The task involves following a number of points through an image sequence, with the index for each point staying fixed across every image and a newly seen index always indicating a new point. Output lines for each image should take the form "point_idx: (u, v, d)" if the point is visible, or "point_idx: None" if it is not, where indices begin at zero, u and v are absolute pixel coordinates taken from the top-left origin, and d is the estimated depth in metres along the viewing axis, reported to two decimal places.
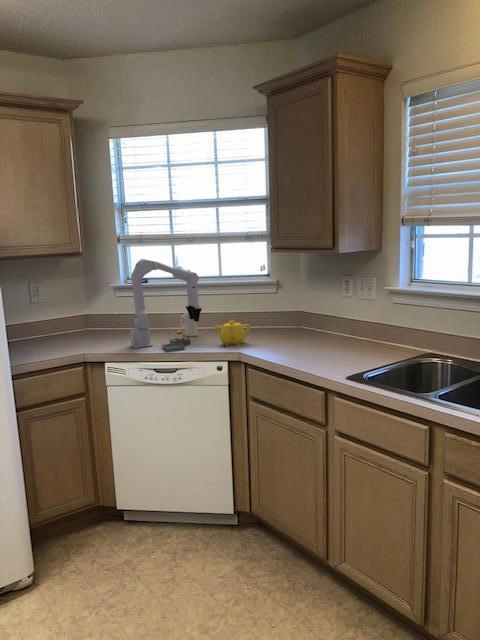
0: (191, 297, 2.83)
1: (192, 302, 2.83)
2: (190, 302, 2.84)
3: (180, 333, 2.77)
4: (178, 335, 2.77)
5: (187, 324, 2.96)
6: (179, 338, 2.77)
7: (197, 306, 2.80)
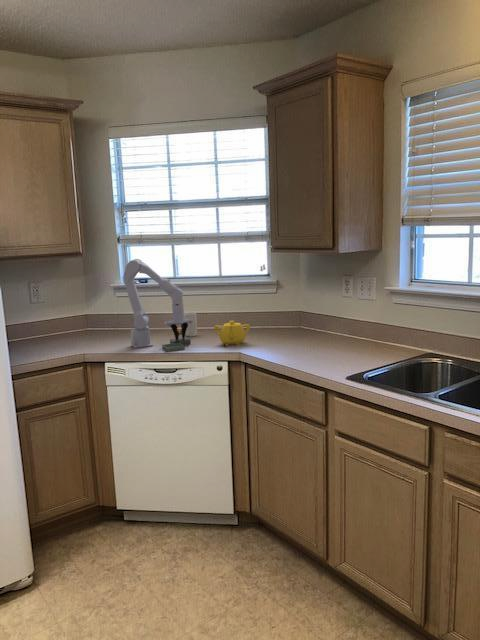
0: None
1: (173, 319, 2.77)
2: None
3: (180, 333, 2.77)
4: (178, 335, 2.77)
5: None
6: (179, 338, 2.77)
7: (165, 323, 2.74)
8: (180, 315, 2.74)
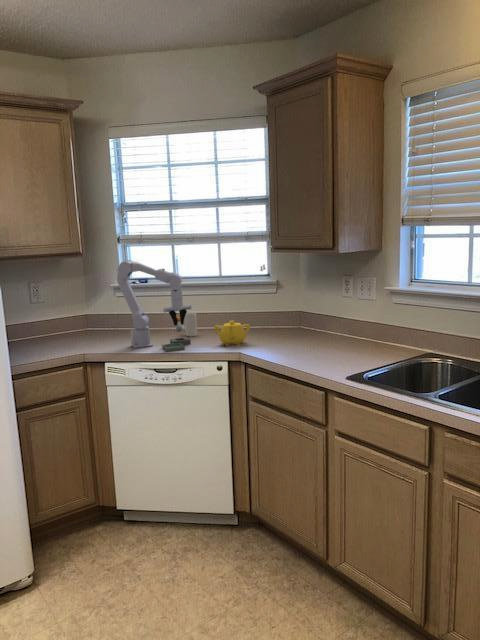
0: None
1: None
2: None
3: (179, 320, 2.75)
4: (177, 322, 2.75)
5: (187, 324, 2.96)
6: (178, 325, 2.75)
7: (163, 310, 2.72)
8: (179, 301, 2.72)
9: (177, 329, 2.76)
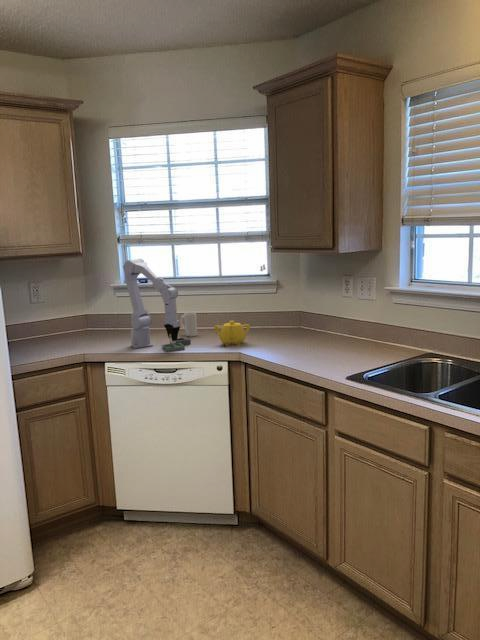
0: (169, 315, 2.63)
1: (170, 320, 2.64)
2: (168, 320, 2.64)
3: None
4: None
5: (187, 324, 2.96)
6: (175, 341, 2.68)
7: (175, 325, 2.60)
8: None
9: (175, 346, 2.68)
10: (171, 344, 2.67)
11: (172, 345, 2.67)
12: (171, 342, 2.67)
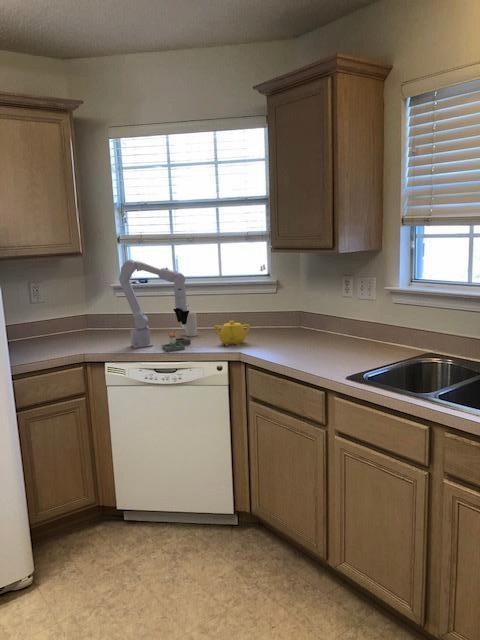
0: (178, 299, 2.75)
1: (179, 304, 2.75)
2: (177, 304, 2.76)
3: None
4: (174, 338, 2.67)
5: (187, 324, 2.96)
6: (175, 341, 2.68)
7: (184, 308, 2.72)
8: None
9: (175, 346, 2.68)
10: (171, 344, 2.67)
11: (172, 345, 2.67)
12: (171, 342, 2.67)
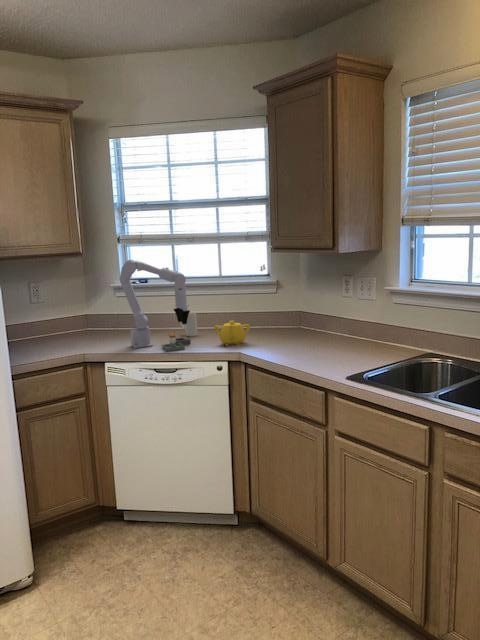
0: (179, 299, 2.75)
1: (180, 304, 2.76)
2: (178, 304, 2.76)
3: None
4: (174, 338, 2.67)
5: (187, 324, 2.96)
6: (175, 341, 2.68)
7: (185, 308, 2.72)
8: None
9: (175, 346, 2.68)
10: (171, 344, 2.67)
11: (172, 345, 2.67)
12: (171, 342, 2.67)
